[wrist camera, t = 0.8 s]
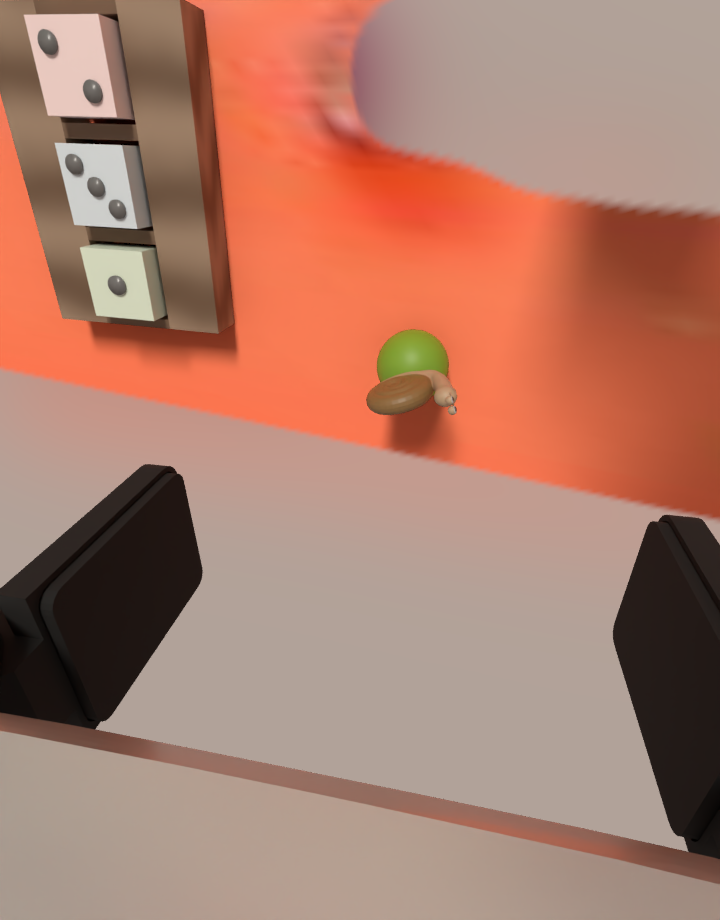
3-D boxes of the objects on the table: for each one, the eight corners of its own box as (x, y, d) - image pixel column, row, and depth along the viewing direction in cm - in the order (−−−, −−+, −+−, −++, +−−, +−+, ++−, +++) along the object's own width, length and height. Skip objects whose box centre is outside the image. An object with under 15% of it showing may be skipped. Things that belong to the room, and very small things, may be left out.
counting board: (12, 12, 34) (-26, 0, 31) (203, 10, 32) (179, -3, 29) (86, 309, 44) (62, 318, 42) (234, 323, 42) (218, 333, 40)
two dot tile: (53, 24, 32) (21, 13, 30) (123, 24, 31) (95, 13, 29) (74, 118, 35) (45, 115, 32) (139, 120, 34) (115, 116, 32)
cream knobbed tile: (101, 242, 39) (78, 247, 36) (160, 246, 38) (139, 252, 36) (115, 307, 41) (94, 316, 39) (171, 312, 41) (152, 321, 38)
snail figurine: (469, 375, 40) (465, 446, 30) (393, 392, 42) (366, 464, 32) (454, 309, 38) (444, 362, 28) (374, 331, 40) (339, 387, 30)
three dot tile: (79, 144, 35) (52, 142, 33) (143, 146, 35) (120, 144, 32) (96, 221, 38) (72, 225, 36) (156, 225, 37) (135, 229, 35)
